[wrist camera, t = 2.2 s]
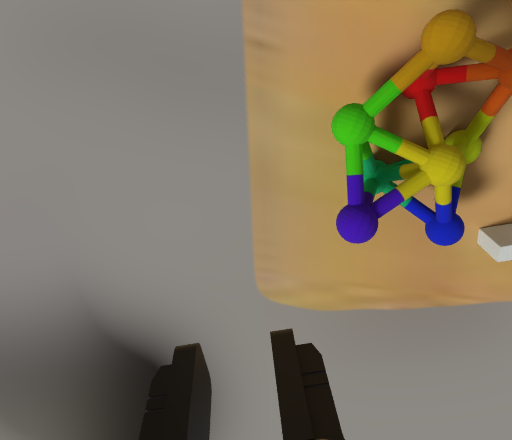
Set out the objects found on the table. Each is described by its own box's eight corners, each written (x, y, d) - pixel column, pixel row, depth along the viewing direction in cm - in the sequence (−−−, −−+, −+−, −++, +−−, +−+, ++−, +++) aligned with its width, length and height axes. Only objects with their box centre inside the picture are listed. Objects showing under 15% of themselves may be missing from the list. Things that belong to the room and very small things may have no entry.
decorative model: (589, 74, 24) (478, 288, 26) (467, 75, 31) (390, 241, 34) (466, -45, 17) (337, 250, 20) (351, -7, 25) (268, 203, 28)
